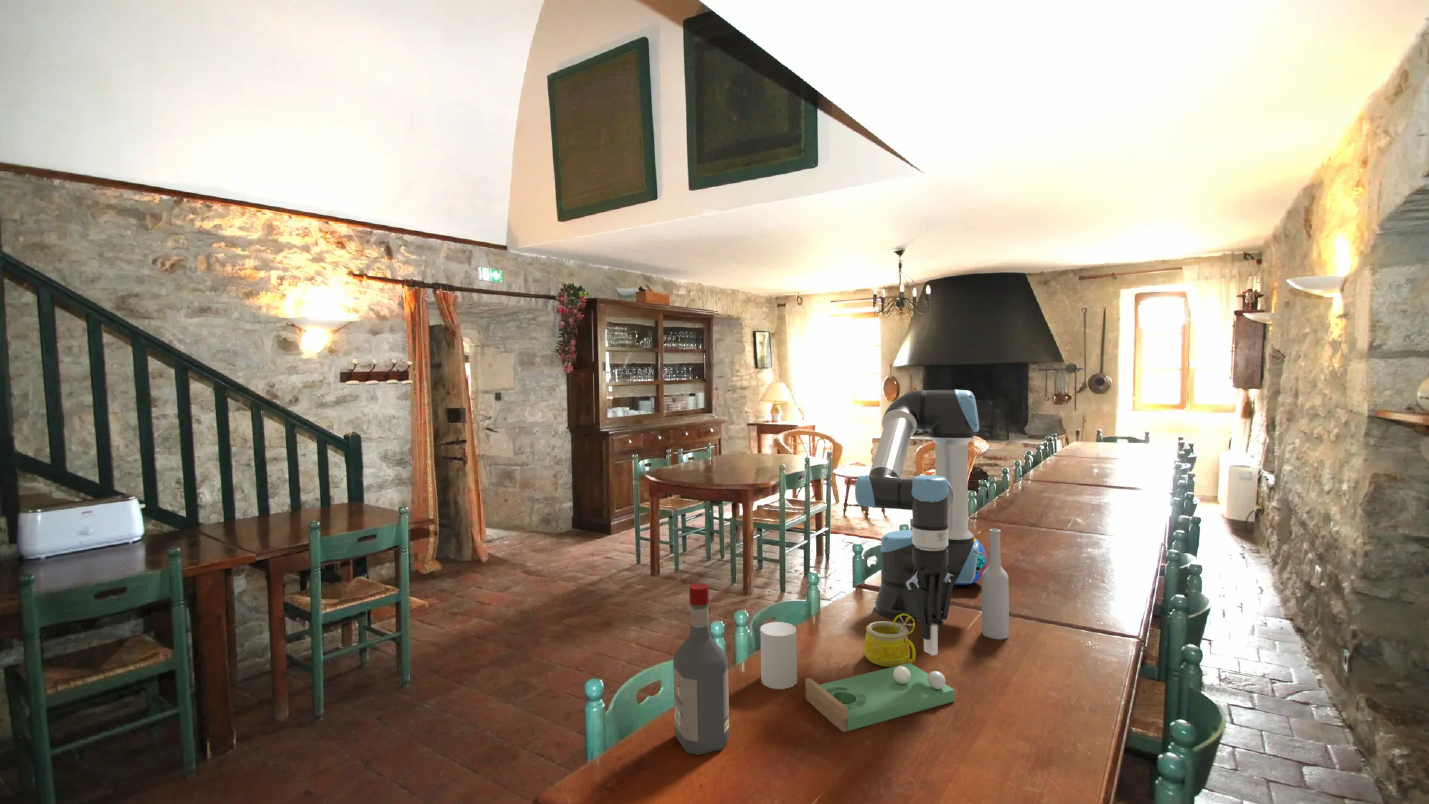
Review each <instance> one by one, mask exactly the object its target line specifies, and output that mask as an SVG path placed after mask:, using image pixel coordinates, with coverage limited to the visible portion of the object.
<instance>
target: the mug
mask: <svg viewBox="0 0 1429 804" xmlns="http://www.w3.org/2000/svg"><path fill="white" fill-rule="evenodd" d="M903 615H906V616H908V617H907V618H906V620H902V617H901V616H903ZM898 617H900V619H901V620H900V621H901V622H896V621H897V618H898ZM910 618H911V619H912V620H911V621H912V622H913V623H907V622H909V621H910V620H909V619H910ZM906 626H909V627H912V628H911V630H910V631H909V630H908V628H907V627H906ZM915 627H916V621H915V620H914V619H913V618H912V617H911V616H910V615H908V614H900V615H898V616H897V617H896V618H895V619H893V621H887V620H886V621H885V620H884V621H880V620H879V621H874V622H871V623H869V624H868V625H867V626H866V628H865V630H866V631H865V632H866V633H865V637H864V645H863V651H864V656H865V658H866V659H867V660H868V661H869V662H870V663H872V664H874V665H877V666H880V667H886V668H891V667H895V666H899V665H903V664H907V663H911V664H912V663H913V662H915V661H916V655H917V653H916V648H915V647H916V646H915V644H914V643H913V642H912V641H911V640H909V638H908V635H911V633H913V632H914V630H915ZM910 650H911V651H910ZM910 652H911V653H910ZM911 654H912V655H911ZM910 657H911V658H910Z"/></svg>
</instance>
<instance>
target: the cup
mask: <svg viewBox="0 0 1429 804" xmlns="http://www.w3.org/2000/svg"><path fill="white" fill-rule="evenodd" d="M759 631H760V675H761V676H760V679H761V683H762V684H763V686H764V687H767V688H769V689H772V690H773V689H774V690H786V688H787V689H790V687H791V688H793V687H795V686H796V685H797V683H798V668H797V666H798V665H797V663H798V662H797V661H798V660H797V655H798V654H797V652H798V651H797V647H798V646H797V627H796V626H795V625H793V624H791V623H788V622H783V621H771V622H767V623H764V624H763V625H761V626H760V630H759ZM795 684H796V685H795ZM794 685H795V686H794Z"/></svg>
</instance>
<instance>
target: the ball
mask: <svg viewBox="0 0 1429 804" xmlns="http://www.w3.org/2000/svg"><path fill="white" fill-rule="evenodd" d="M893 675H894V679H895V680H896V681H897V682H898V683H900V684H906V683H908V682H909V680H910V678H911V674H910V671H909V670H908V669H907V668H906V667H904V666H898V667H896V668H895V670H894V673H893Z"/></svg>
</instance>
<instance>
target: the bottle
mask: <svg viewBox="0 0 1429 804" xmlns="http://www.w3.org/2000/svg"><path fill="white" fill-rule="evenodd" d="M1001 532H1002V531H1001V529H998V528H990V529H989V533H990V534H989V561H988V563H989V564H988V565H987V566H986V569H985V570H984V571H983V573H982V577H981V634H982V635H983V637H986V638H989V639H992V640H1006V639H1008V638H1009V637H1010V620H1009V619H1010V617H1009V613H1010V612H1009V611H1010V609H1009V607H1010V606H1009V603H1010V602H1009V601H1010V600H1009V597H1010V596H1009V593H1010V592H1009V574H1008V573H1007V571H1005V569H1004V568H1003V566H1002V562H1001V561H1002V559H1001Z"/></svg>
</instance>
